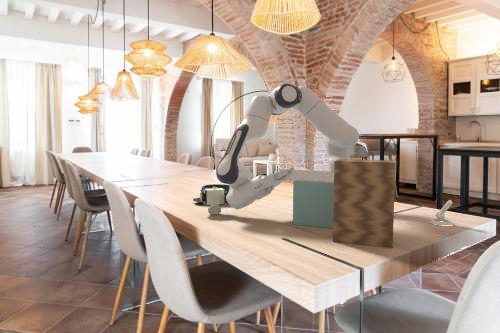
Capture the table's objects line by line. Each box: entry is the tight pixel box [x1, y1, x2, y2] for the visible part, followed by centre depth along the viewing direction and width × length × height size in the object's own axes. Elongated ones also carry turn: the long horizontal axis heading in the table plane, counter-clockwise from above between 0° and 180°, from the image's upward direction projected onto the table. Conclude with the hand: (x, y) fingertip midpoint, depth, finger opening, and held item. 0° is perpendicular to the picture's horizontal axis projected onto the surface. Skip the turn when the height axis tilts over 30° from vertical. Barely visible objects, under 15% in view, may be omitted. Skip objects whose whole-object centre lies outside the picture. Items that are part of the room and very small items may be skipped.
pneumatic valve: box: [199, 187, 228, 216], centre depth 161 cm, size 6×12×12 cm, turn 108°
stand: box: [332, 158, 397, 249], centre depth 120 cm, size 18×10×26 cm, turn 68°
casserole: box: [192, 183, 230, 204], centre depth 189 cm, size 25×19×8 cm
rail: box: [279, 168, 334, 183], centre depth 142 cm, size 28×4×4 cm, turn 67°
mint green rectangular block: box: [292, 181, 334, 229], centre depth 143 cm, size 17×8×16 cm, turn 69°
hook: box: [430, 199, 454, 226], centre depth 141 cm, size 8×12×7 cm
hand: (290, 170), depth 146 cm, fingers open, 8 cm apart
